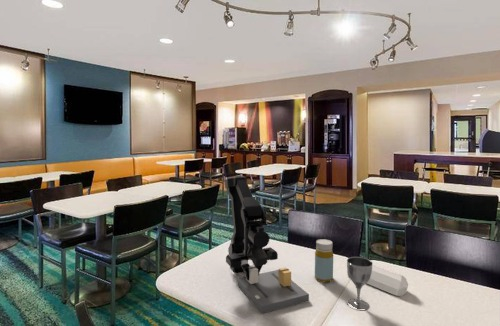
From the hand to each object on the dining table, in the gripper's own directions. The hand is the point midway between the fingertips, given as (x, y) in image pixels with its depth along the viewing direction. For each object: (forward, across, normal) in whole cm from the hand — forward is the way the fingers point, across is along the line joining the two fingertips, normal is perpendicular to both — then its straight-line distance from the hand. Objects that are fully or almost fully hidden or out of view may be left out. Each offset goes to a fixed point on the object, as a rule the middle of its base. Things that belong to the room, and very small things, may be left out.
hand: (252, 279), depth 115 cm
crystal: (+4, +45, -16) cm, 48 cm away
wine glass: (+4, +28, -25) cm, 37 cm away
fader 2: (+1, +10, -7) cm, 12 cm away
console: (+4, +5, -6) cm, 8 cm away
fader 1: (+1, 0, 0) cm, 1 cm away
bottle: (+4, +29, -5) cm, 30 cm away
